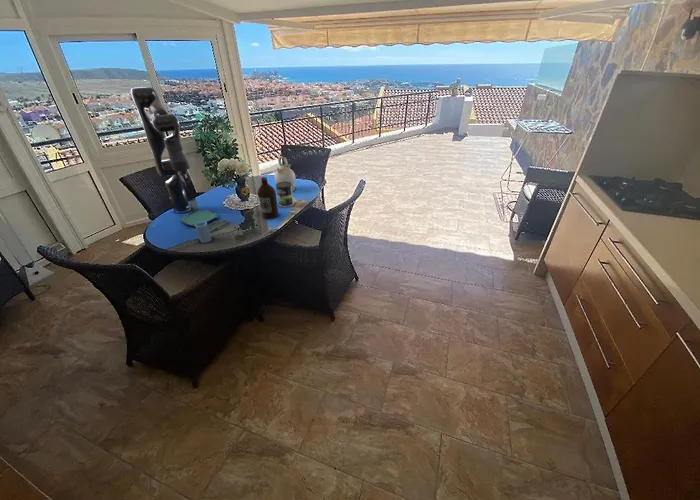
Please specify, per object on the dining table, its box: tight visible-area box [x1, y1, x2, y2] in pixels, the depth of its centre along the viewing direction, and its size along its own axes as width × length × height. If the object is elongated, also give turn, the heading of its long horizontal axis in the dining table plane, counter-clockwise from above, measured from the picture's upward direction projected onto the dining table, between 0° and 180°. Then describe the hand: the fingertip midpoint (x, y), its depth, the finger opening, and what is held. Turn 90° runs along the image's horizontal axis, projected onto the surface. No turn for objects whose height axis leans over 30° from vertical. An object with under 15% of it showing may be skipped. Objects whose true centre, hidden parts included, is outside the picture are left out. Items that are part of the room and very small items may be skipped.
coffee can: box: [275, 182, 295, 208], centre depth 197 cm, size 10×10×14 cm
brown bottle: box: [257, 176, 279, 220], centre depth 179 cm, size 11×11×25 cm
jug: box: [274, 155, 297, 192], centre depth 216 cm, size 15×16×25 cm
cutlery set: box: [180, 209, 230, 232], centre depth 180 cm, size 20×30×2 cm, turn 53°
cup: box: [194, 222, 213, 244], centre depth 160 cm, size 6×6×10 cm
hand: (189, 190), depth 152 cm, fingers open, 8 cm apart
